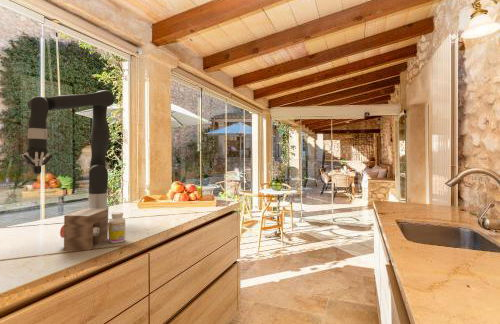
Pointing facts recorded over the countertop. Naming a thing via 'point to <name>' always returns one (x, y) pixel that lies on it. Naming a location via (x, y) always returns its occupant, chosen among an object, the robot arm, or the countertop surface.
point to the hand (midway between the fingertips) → (37, 173)
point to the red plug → (95, 231)
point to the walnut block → (85, 228)
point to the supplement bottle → (117, 228)
